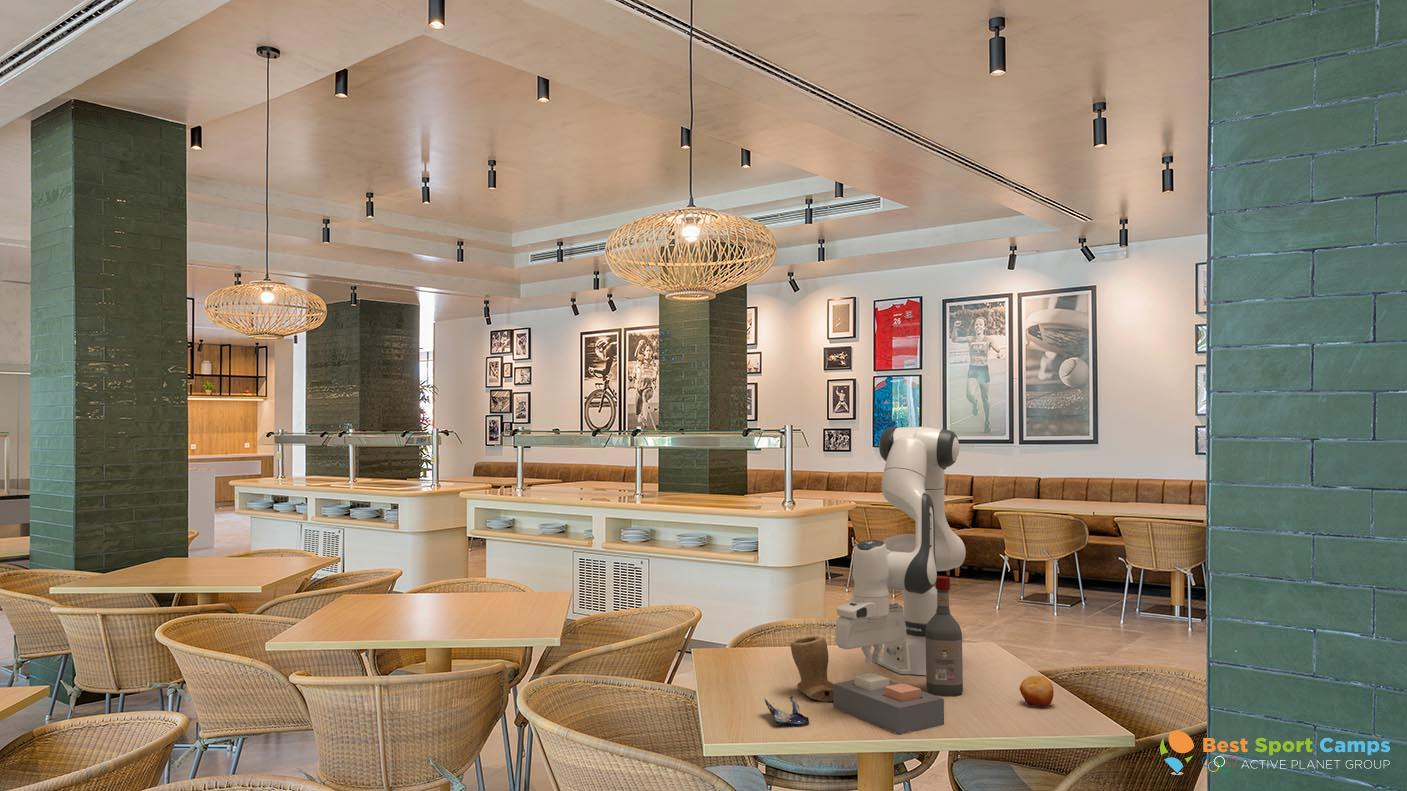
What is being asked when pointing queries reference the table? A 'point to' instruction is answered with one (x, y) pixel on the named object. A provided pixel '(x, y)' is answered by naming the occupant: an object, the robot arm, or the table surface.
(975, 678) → the table surface
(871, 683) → the off-white key
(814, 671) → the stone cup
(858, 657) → the table surface
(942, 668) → the liquor
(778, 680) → the table surface
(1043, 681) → the fruit
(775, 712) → the dark blue forked piece
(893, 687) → the terracotta key
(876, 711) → the key panel
